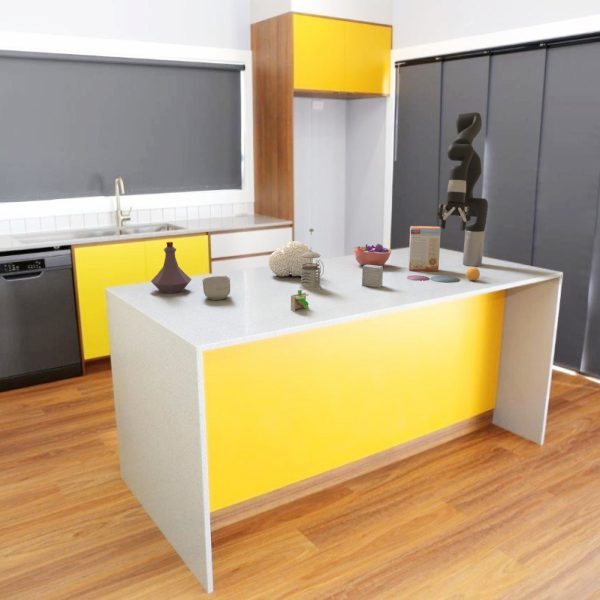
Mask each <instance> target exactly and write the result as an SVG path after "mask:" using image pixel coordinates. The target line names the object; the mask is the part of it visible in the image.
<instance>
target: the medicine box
mask: <svg viewBox="0 0 600 600" xmlns="http://www.w3.org/2000/svg"><path fill="white" fill-rule="evenodd" d="M361 273H362V276H361V279H362V280H361V286H362V287H371V288H381V287H382V286H383V274H384V265H381V266H375V265H362V272H361Z"/></svg>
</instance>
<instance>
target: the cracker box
mask: <svg viewBox="0 0 600 600" xmlns="http://www.w3.org/2000/svg"><path fill="white" fill-rule="evenodd" d="M441 233H442V228H441V226H430V225H429V226H427V225H425V226H424V225H411V226H410V228H409V247H408V248H409V250H408V251H409V252H408V253H409V254H408V270H409V271H410V272H411V271H415V272H420V271H421V272H422V271H423V272H438V271H439V269H440V268H439V265H440V250H441V249H440V248H441V235H442V234H441Z"/></svg>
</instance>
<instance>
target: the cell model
mask: <svg viewBox="0 0 600 600" xmlns="http://www.w3.org/2000/svg"><path fill="white" fill-rule="evenodd" d="M352 252H353V254H354V257H355V260H356V262H357V263H358V265H359V264H360V265H362V266H364V265H375V266H384V265H385V264H386V263H387V261H388V260H389V258H390V256H391V254H392V252H393V251H392V250H391V249H390V248H388V247H384V246H383V245H382V244H380V243H376V245H373V244H372V245H368V244H365V246H364V245H363V246H360V245H359V246H356V247H353V248H352Z"/></svg>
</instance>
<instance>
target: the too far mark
mask: <svg viewBox="0 0 600 600" xmlns="http://www.w3.org/2000/svg"><path fill="white" fill-rule="evenodd" d="M406 279H408V280H411V281H417V280H420V281H421V282H423V281H429V280H430V277H428V276H427V275H426V276H425V275H420V274H419V275H413V274H412V275H408V276H406ZM422 280H423V281H422ZM420 281H419V282H420Z"/></svg>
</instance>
